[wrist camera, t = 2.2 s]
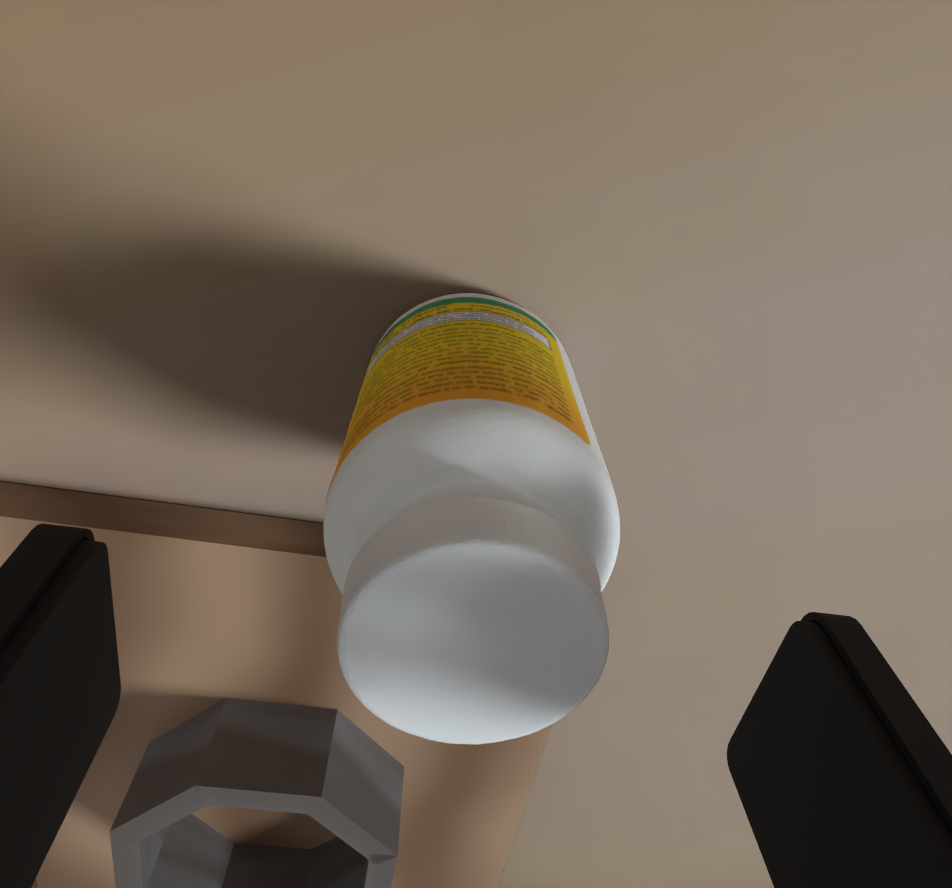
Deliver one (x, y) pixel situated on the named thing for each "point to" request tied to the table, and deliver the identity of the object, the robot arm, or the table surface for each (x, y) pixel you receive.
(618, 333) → the table surface
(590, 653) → the supplement bottle
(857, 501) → the table surface
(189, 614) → the holder
